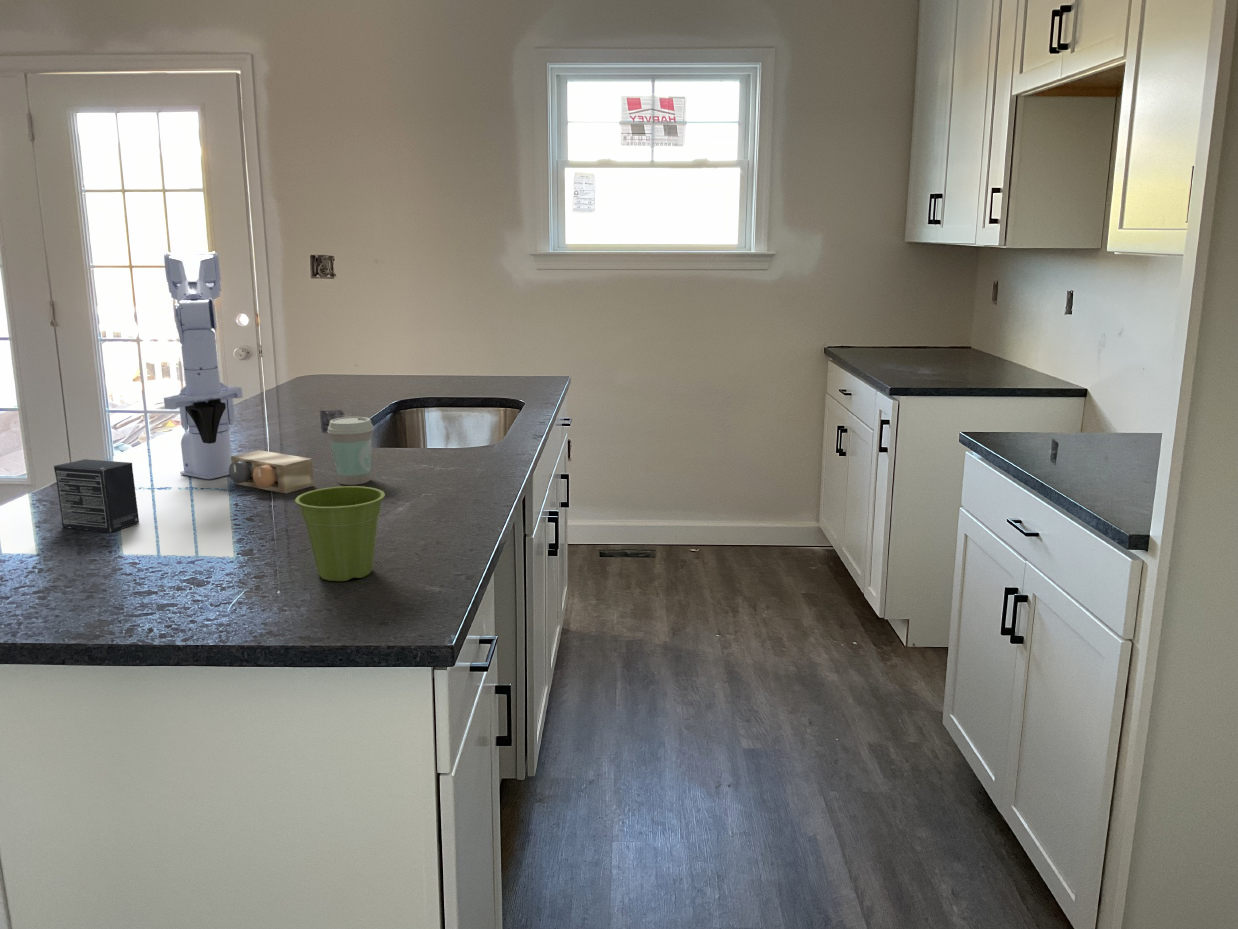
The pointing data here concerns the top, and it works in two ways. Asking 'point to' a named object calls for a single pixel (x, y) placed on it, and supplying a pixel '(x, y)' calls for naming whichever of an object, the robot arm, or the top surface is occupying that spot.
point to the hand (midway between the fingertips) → (209, 442)
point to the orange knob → (265, 476)
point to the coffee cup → (351, 448)
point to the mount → (280, 470)
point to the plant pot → (342, 529)
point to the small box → (97, 495)
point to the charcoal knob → (240, 471)
